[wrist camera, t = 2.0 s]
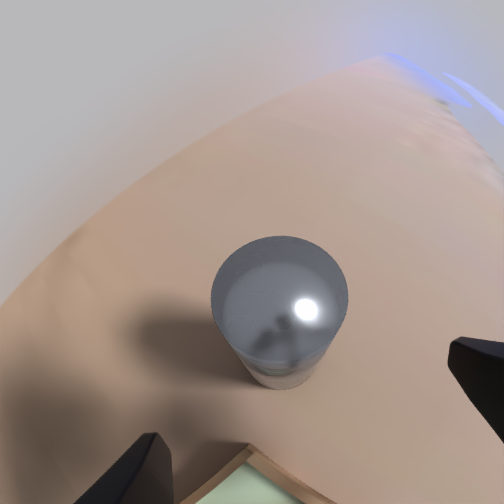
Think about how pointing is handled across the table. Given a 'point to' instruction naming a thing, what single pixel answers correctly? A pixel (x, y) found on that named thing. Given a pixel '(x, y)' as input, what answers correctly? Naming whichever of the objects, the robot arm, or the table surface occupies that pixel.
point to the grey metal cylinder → (279, 307)
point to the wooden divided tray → (254, 484)
